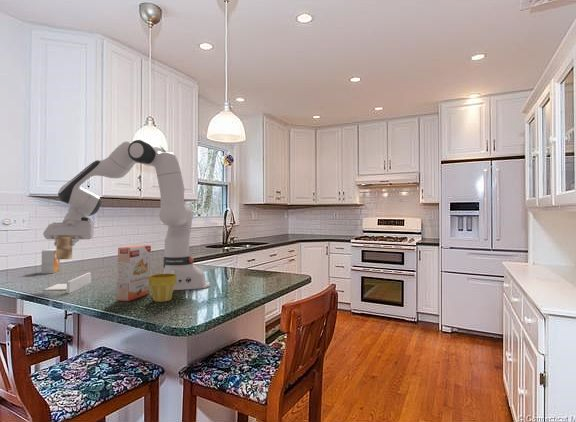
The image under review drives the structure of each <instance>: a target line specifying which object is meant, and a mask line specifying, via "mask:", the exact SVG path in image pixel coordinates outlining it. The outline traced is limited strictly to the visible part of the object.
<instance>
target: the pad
mask: <svg viewBox="0 0 576 422" xmlns="http://www.w3.org/2000/svg"><path fill="white" fill-rule="evenodd" d="M43 291H44V292H47V291H48V292H50V291H55V292H56V291H67V283H56V284H54V285H52V286H49V287H46V288H44V289H43Z"/></svg>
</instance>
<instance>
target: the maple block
mask: <svg viewBox="0 0 576 422" xmlns="http://www.w3.org/2000/svg"><path fill="white" fill-rule="evenodd" d="M73 240H74V239H73V237H57V245H56V246H55V247H56V248H55V249H56V259H60V260H70V259H73V246H70V241H73Z"/></svg>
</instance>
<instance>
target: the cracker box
mask: <svg viewBox="0 0 576 422" xmlns="http://www.w3.org/2000/svg"><path fill="white" fill-rule="evenodd" d="M151 251H152V246H151V245H147V244H143V245H142V244H141V245H140V244H139V245H129V246H123V247H122V246H121V247H118V248H117V270H116V271H117V276H116V301H119V302H130V301H133V300H135V299H138V298H139V299H140V298H141V297H145V296H147V295H149V294H150V293H151V286H150V285H149V276H150V275H151V256H152V255H151V254H152V252H151Z"/></svg>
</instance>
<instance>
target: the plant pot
mask: <svg viewBox="0 0 576 422" xmlns="http://www.w3.org/2000/svg"><path fill="white" fill-rule="evenodd" d="M175 283H176V274H163V273H155V274H150V276H149V285H150V292H151V294H152V299H153V301H154V302H155V303H156V302H159V303H161V302H168V301H171V300H172V297H173V294H174V293H173V292H174V290H173V289H174V284H175Z"/></svg>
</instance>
